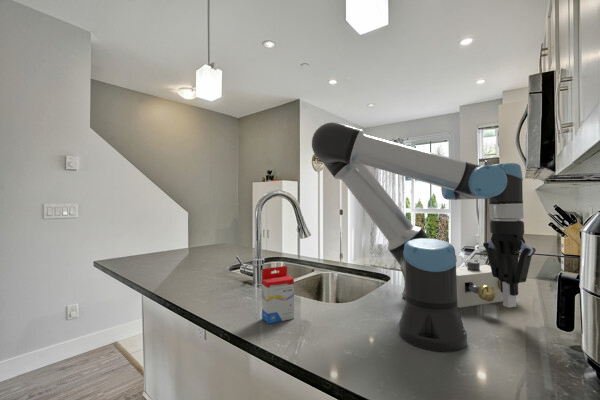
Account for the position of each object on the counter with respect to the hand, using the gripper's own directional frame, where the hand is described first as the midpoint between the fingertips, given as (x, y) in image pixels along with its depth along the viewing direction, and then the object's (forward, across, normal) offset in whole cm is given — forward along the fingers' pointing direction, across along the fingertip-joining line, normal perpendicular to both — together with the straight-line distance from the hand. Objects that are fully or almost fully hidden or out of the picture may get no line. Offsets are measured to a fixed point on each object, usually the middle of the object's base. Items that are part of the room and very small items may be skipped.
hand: (509, 306), depth 76 cm
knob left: (+1, +10, 0) cm, 10 cm away
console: (+4, +17, -7) cm, 19 cm away
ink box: (+5, +23, +60) cm, 64 cm away
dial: (-6, +17, -7) cm, 20 cm away
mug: (+5, +26, +10) cm, 28 cm away
